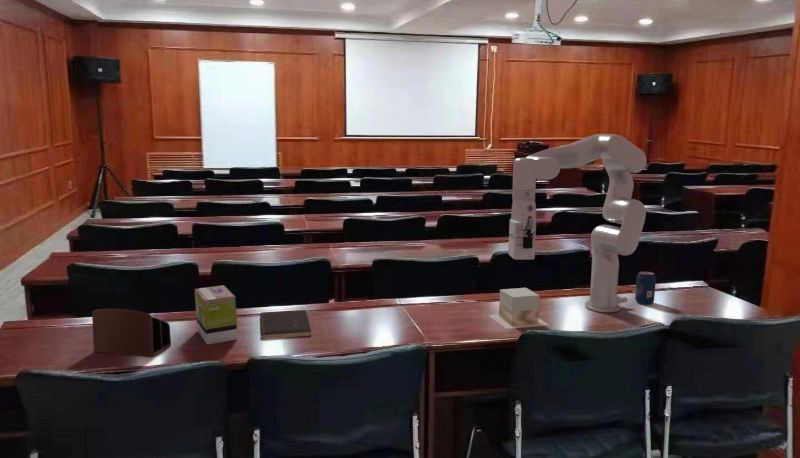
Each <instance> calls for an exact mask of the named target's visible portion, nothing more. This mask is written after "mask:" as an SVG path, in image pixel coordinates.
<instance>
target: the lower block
mask: <svg viewBox="0 0 800 458" xmlns="http://www.w3.org/2000/svg"><path fill="white" fill-rule="evenodd" d="M539 311H540V308H539V309H538V310H526V311H514V312H512V311H510V310H509V309H507V308H506V307H504V306H503V305H501V304H500V303H499V309H498V315H499V317H500V318H501V319H503V320H504V321H506V322H507V323H508V324H510V325H511V326H515V325H526V324H537V323H538V318H539V317H540V316H539V315H540V313H539Z"/></svg>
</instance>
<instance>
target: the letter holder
mask: <svg viewBox="0 0 800 458" xmlns="http://www.w3.org/2000/svg"><path fill="white" fill-rule="evenodd" d="M91 319H92V320H91V321H92V340H93V341H92V342H93V344H92V345H93V352H94V353H101V354H112V355H122V356H132V357H133V356H134V357H144V358H154V357H157V356H158V355H159V354H161V353H162V352H164V351H166V350H167V349H168V348H170V347H172V340H171V339H172V338H171V337H172V336H171V327H170V324H169V322H167V321H164V320H161V319H159V318H156V317H152V314H150V313H147V312H144V311H138V310H134V309H128V308H126V309H125V308H99V309H98V308H97V309H96V308H95V309H93V310H92V311H91Z"/></svg>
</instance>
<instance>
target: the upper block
mask: <svg viewBox="0 0 800 458" xmlns="http://www.w3.org/2000/svg"><path fill="white" fill-rule="evenodd" d="M499 304H501V305H503V306H504V307H506V308H507V309H509V310H510V311H512V312H514V311H526V310H538V309H539V310H540V294H538V293H536V292H534V291H533V290H531V289H529V288H527V287H519V288H503V289H499Z"/></svg>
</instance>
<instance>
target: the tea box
mask: <svg viewBox="0 0 800 458" xmlns="http://www.w3.org/2000/svg"><path fill="white" fill-rule="evenodd" d="M194 298H195V299H194V301H195V313H196V314H195V315H196V316H195V317H196V330H197V331H198V334H199V336H201V338H202V340H204V343H205V344H206V345H213V344H219V343H220V344H221V343H225V342H231V341H236V340H238V327H237V326H238V323H237V322H238V321H237V320H238V319H237V306H236V303H237V302H236V296H235V295H234V293H232V292H231V291H230V290H229V289H228V288H227V287H226V286H225V285H224V284H223V285H216V286H208V287H200V288H194Z"/></svg>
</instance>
